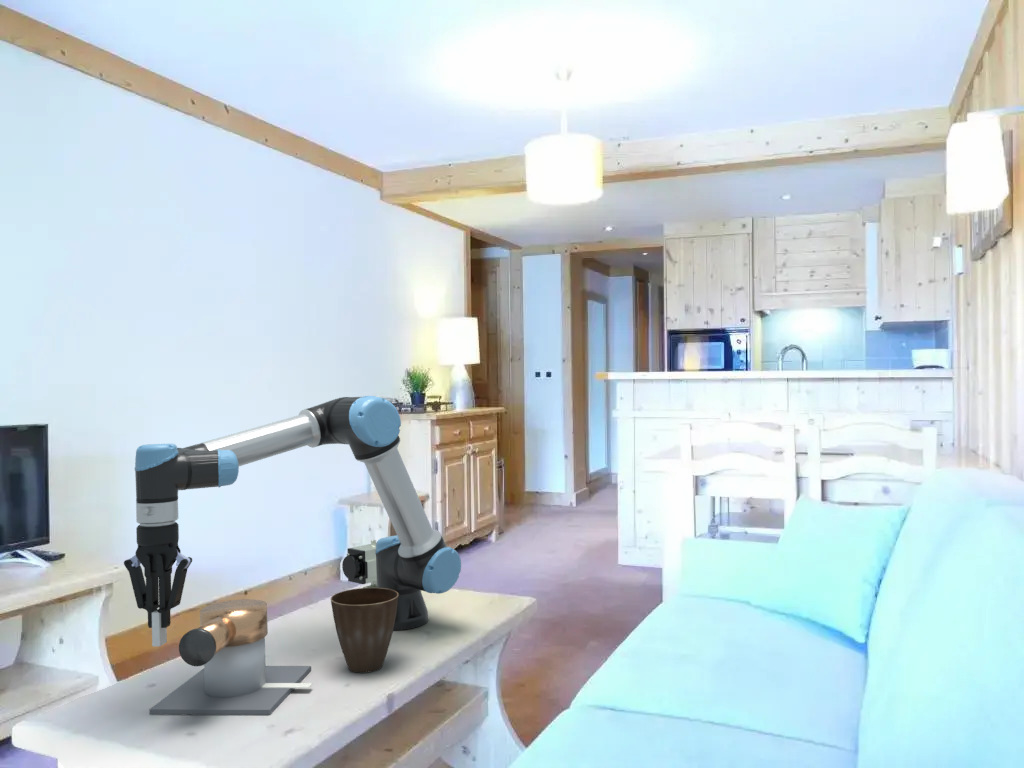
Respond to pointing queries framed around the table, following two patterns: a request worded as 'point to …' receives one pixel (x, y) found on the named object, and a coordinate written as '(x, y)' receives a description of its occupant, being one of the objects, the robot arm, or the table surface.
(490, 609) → the table surface
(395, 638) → the table surface
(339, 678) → the table surface
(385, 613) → the plant pot
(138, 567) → the robot arm
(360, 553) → the ball valve
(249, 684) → the duct stub
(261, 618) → the copper flat bottle shape
